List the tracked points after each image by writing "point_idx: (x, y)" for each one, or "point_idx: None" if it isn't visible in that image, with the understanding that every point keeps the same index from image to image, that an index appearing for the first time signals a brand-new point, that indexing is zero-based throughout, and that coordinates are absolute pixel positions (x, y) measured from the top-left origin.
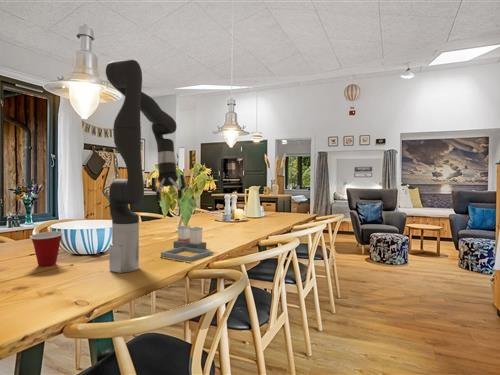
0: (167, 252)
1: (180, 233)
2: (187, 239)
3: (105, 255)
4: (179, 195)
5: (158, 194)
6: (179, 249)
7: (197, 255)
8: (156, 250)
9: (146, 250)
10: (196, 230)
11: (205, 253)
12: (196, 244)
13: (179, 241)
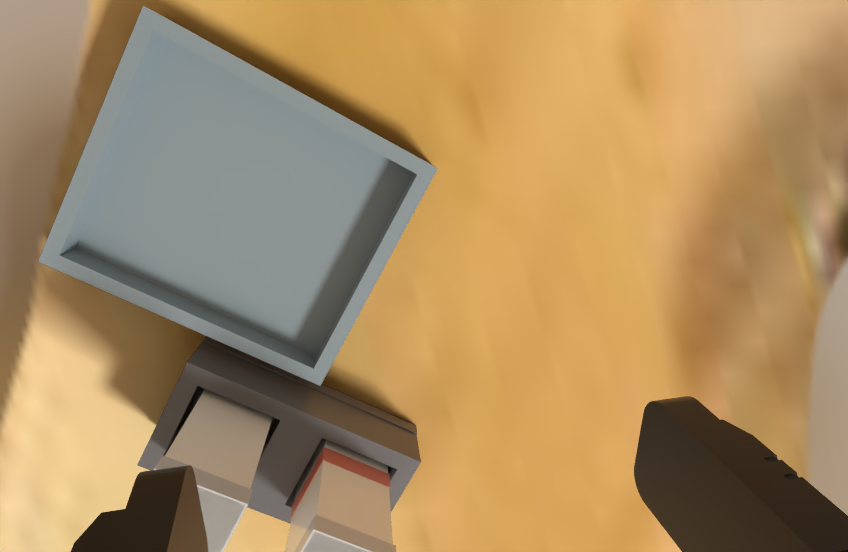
0: (396, 211)
1: (362, 505)
2: (305, 486)
3: (828, 210)
4: (115, 531)
5: (789, 497)
6: (334, 326)
7: (108, 95)
8: (530, 396)
9: (598, 387)
10: (163, 458)
11: (70, 189)
12: (194, 373)
13: (372, 465)
